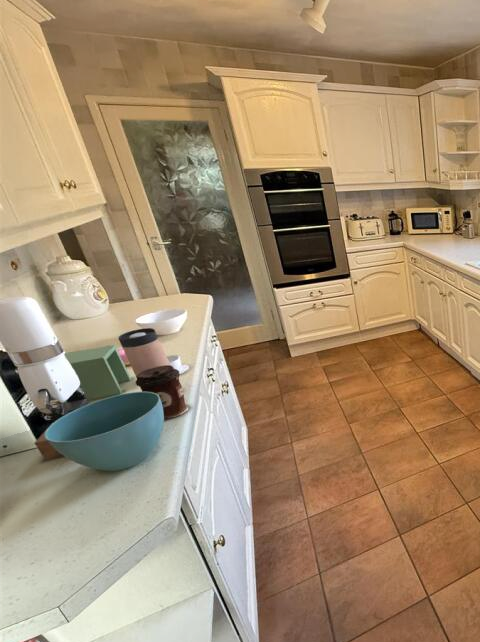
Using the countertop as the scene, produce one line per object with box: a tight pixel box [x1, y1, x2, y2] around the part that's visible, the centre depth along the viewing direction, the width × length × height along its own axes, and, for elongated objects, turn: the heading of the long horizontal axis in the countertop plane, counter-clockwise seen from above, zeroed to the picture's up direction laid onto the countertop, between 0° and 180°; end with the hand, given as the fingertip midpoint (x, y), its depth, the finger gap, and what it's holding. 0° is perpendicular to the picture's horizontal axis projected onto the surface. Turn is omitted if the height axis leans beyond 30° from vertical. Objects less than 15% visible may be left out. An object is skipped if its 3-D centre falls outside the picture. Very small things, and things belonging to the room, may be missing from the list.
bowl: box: [135, 308, 188, 336], centre depth 158 cm, size 16×16×7 cm
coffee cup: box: [135, 365, 189, 420], centre depth 104 cm, size 9×8×13 cm
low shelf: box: [34, 422, 65, 461], centre depth 95 cm, size 12×9×5 cm
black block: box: [55, 399, 90, 412], centre depth 93 cm, size 5×5×5 cm
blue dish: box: [44, 391, 165, 472], centre depth 87 cm, size 18×18×12 cm
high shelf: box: [64, 344, 132, 403], centre depth 115 cm, size 12×10×12 cm
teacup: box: [166, 354, 190, 375], centre depth 126 cm, size 10×10×5 cm
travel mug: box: [118, 328, 170, 379], centre depth 110 cm, size 8×8×20 cm
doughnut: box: [117, 348, 131, 366], centre depth 136 cm, size 11×11×4 cm
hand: (75, 418), depth 93 cm, fingers open, 7 cm apart
